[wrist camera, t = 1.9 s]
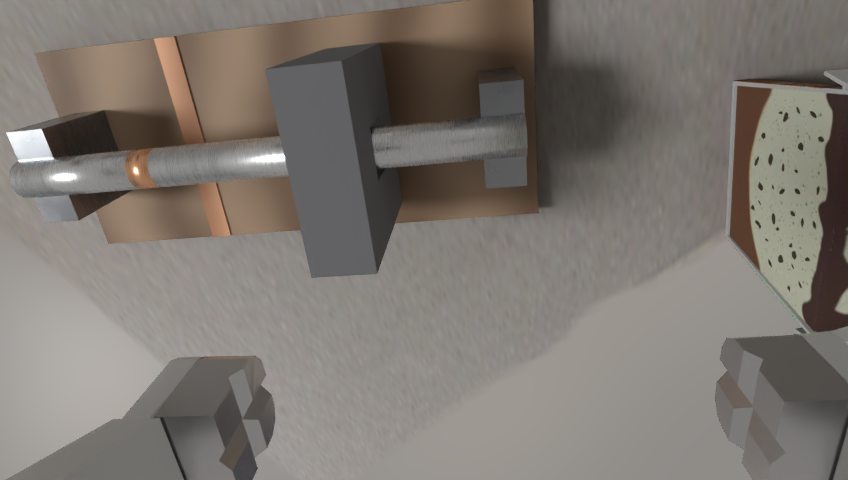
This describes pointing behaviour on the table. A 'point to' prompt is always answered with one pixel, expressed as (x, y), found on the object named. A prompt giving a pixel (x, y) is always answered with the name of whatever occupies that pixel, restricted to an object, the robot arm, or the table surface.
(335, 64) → the collar
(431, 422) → the table surface
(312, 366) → the table surface
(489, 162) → the linear slide rail
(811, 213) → the food container
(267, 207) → the board
